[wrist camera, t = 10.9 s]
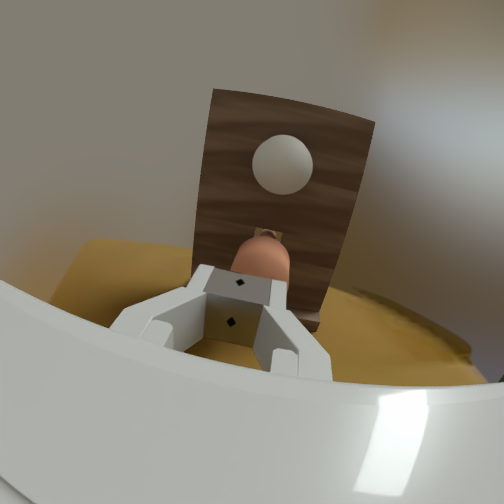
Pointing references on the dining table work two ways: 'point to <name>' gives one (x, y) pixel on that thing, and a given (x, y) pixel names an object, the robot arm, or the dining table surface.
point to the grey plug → (282, 164)
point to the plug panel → (275, 205)
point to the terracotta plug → (263, 258)
